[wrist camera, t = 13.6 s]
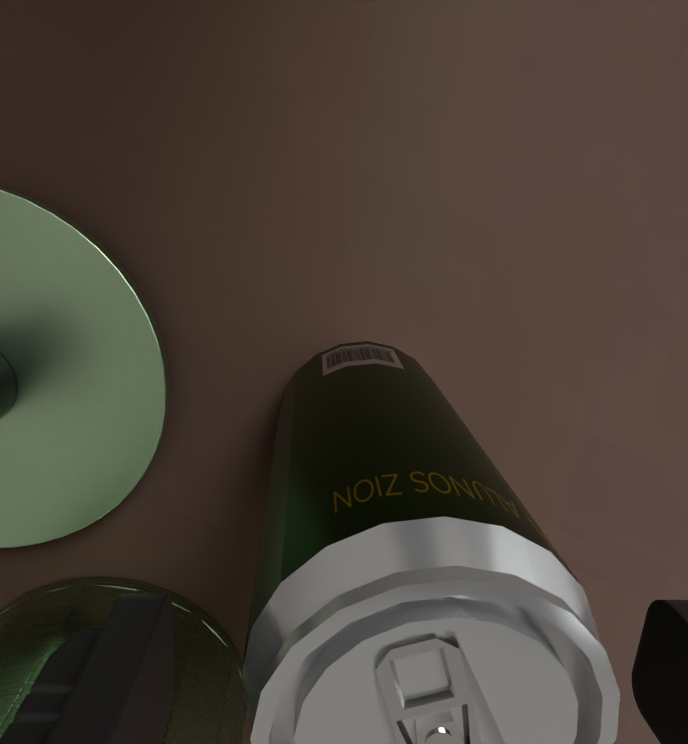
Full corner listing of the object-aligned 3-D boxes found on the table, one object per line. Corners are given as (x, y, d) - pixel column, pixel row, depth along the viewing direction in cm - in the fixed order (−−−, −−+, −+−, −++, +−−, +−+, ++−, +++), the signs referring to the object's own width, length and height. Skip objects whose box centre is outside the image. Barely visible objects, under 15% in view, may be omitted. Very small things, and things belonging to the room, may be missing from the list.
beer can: (260, 359, 18) (173, 626, 6) (418, 318, 18) (617, 513, 6) (303, 499, 20) (295, 915, 8) (449, 462, 19) (653, 828, 8)
